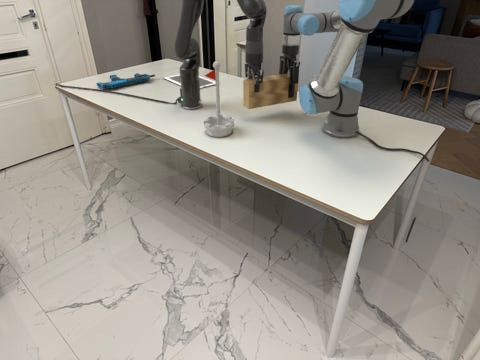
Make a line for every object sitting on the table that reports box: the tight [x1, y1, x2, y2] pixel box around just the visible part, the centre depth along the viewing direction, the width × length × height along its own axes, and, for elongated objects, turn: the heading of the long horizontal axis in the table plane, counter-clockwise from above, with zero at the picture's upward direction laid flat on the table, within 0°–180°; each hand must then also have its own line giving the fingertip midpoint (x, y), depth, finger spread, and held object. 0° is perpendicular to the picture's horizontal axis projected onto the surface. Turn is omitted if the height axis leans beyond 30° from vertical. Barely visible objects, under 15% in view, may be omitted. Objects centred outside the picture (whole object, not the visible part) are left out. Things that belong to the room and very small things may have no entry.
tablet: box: [163, 73, 216, 89], centre depth 211 cm, size 32×20×1 cm, turn 41°
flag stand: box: [203, 60, 235, 138], centre depth 141 cm, size 13×13×30 cm
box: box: [242, 72, 299, 110], centre depth 157 cm, size 26×6×12 cm, turn 115°
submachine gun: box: [95, 72, 156, 90], centre depth 209 cm, size 34×4×25 cm
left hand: (253, 89), depth 153 cm, fingers closed on box, 6 cm apart
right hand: (287, 95), depth 162 cm, fingers closed on box, 6 cm apart
